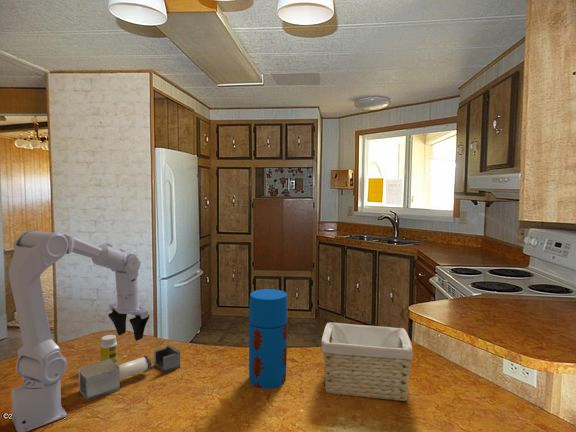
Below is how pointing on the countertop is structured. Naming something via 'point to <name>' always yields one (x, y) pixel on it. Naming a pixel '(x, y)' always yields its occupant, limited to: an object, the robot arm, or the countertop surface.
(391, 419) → the countertop surface
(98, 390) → the sleeve
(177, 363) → the socket
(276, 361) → the thermos
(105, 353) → the supplement bottle
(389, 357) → the storage basket
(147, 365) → the tube
